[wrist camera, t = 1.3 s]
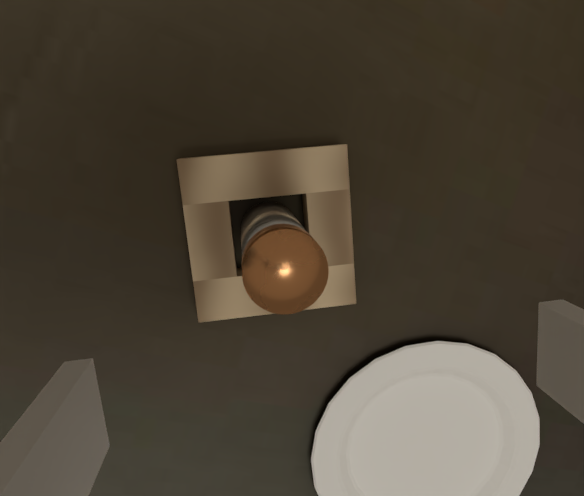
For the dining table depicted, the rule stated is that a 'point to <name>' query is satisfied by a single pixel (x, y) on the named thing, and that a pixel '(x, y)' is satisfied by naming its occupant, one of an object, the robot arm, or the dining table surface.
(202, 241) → the socket block
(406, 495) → the plate
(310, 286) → the clear jar
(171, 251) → the dining table surface
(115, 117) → the dining table surface
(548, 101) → the dining table surface
